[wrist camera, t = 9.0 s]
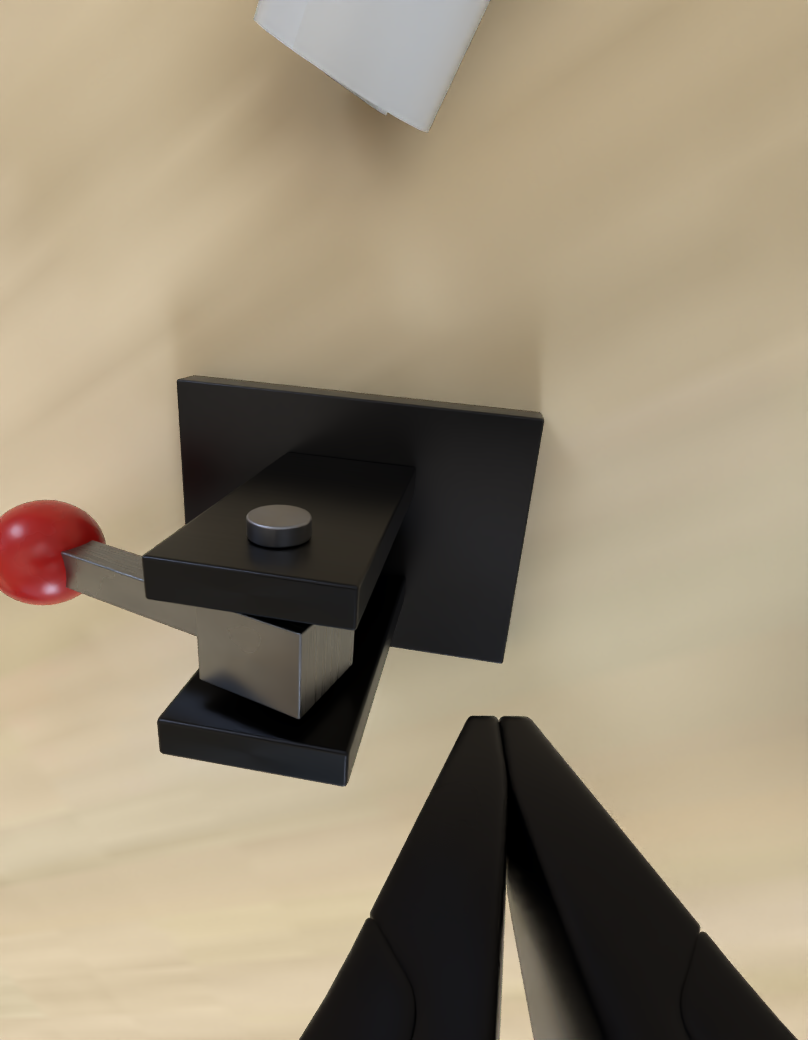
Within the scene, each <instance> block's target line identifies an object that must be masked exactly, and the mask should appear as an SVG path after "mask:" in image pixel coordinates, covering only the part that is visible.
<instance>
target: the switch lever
mask: <svg viewBox="0 0 808 1040" xmlns="http://www.w3.org/2000/svg"><path fill="white" fill-rule="evenodd" d="M0 591H2V592H3V593H4V594H6V595H7V596H9V597H11V598H13V599H15V600H17V601H20V602H24V603H27V604H34V605H52V604H58V603H62V602H65V601H68V600H71V599H73V598H75V597H77V596H78V595H80V594H85V595H88V596H90V597H93V598H96V599H98V600H101V601H104V602H106V603H109V604H112V605H114V606H117V607H120V608H122V609H125V610H128V611H130V612H133V613H136V614H138V615H141V616H144V617H146V618H149V619H152V620H154V621H157V622H160V623H162V624H165V625H168V626H170V627H173V628H176V629H178V630H181V631H184V632H186V633H189V634H192V635H194V636H197V639H198V657H199V675H200V679H201V680H203V681H205V682H208V683H210V684H212V685H215V686H217V687H220V688H222V689H225V690H227V691H230V692H232V693H235V694H237V695H239V696H242V697H244V698H247V699H249V700H252V701H254V702H257V703H259V704H261V705H264V706H266V707H269V708H271V709H274V710H276V711H279V712H281V713H284V714H286V715H288V716H291V717H293V718H296V719H301V717H302V716H303V715H304V714H305V713H306V712H307V711H308V710H309V709H310V708H311V707H312V706H313V705H314V704H315V703H316V702H317V701H318V700H319V699H320V698H321V696H322V695H323V694H324V693H325V692H326V691H327V690H328V689H329V688H330V687H331V686H332V685H333V684H334V683H335V682H336V681H337V680H338V679H339V678H340V676H341V675H342V674H343V673H344V672H345V671H346V670H347V669H348V668H349V667H350V666H351V665H352V663H353V647H354V630H353V631H352V630H345V629H339V628H332V627H326V626H319V625H312V624H306V623H299V622H293V621H286V620H280V619H273V618H267V617H260V616H253V615H247V614H240V613H234V612H227V611H221V610H214V609H207V608H201V607H194V606H188V605H181V604H175V603H168V602H161V601H155V600H148V599H146V597H145V589H144V578H143V568H142V556H140V555H137V554H134V553H131V552H127V551H124V550H121V549H118V548H115V547H112V546H109V545H106V542H105V538H104V535H103V533H102V531H101V529H100V527H99V526H98V524H97V523H96V521H95V520H94V519H93V518H92V517H91V516H90V515H88V514H87V513H86V512H85V511H83V510H81V509H80V508H78V507H76V506H74V505H71V504H68V503H65V502H61V501H55V500H37V501H32V502H27V503H24V504H21V505H19V506H16V507H14V508H12V509H10V510H9V511H7V512H6V513H5V514H3V515H2V516H1V517H0Z"/></svg>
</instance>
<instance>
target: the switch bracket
mask: <svg viewBox="0 0 808 1040" xmlns="http://www.w3.org/2000/svg"><path fill="white" fill-rule="evenodd" d="M177 393H178V409H179V426H180V442H181V459H182V475H183V492H184V508H185V526H183V527H182V528H181V529H179V530H178V531H176V532H175V533H174V534H172V535H171V536H169V537H168V538H167V539H165V540H164V541H162V542H161V543H160V544H158V545H157V546H155V547H154V548H153V549H151V550H150V551H148V552H147V553H146V554H144V555H143V556H142V568H143V578H144V589H145V597H146V599H148V600H155V601H161V602H168V603H175V604H181V605H188V606H194V607H201V608H207V609H214V610H221V611H227V612H234V613H240V614H247V615H253V616H260V617H267V618H273V619H280V620H286V621H293V622H299V623H306V624H312V625H319V626H326V627H332V628H339V629H345V630H352V631H353V630H354V647H353V663H352V665H351V666H350V667H349V668H348V669H347V670H346V671H345V672H344V673H343V674H342V675H341V676H340V678H339V679H338V680H337V681H336V682H335V683H334V684H333V685H332V686H331V687H330V688H329V689H328V690H327V691H326V692H325V693H324V694H323V695H322V696H321V698H320V699H319V700H318V701H317V702H316V703H315V704H314V705H313V706H312V707H311V708H310V709H309V710H308V711H307V712H306V713H305V714H304V715H303V716H302V717H301V719H296V718H293V717H291V716H288V715H286V714H284V713H281V712H279V711H276V710H274V709H271V708H269V707H266V706H264V705H261V704H259V703H257V702H254V701H252V700H249V699H247V698H244V697H242V696H239V695H237V694H235V693H232V692H230V691H227V690H225V689H222V688H220V687H217V686H215V685H212V684H210V683H208V682H205V681H203V680H201V679H200V675H199V669H198V670H197V671H196V673H195V674H194V675H193V676H192V677H191V679H190V680H189V681H188V682H187V684H186V685H185V686H184V687H183V689H182V690H181V691H180V692H179V693H178V695H177V696H176V697H175V698H174V700H173V701H172V702H171V703H170V705H169V706H168V707H167V708H166V709H165V711H164V712H163V713H162V714H161V716H160V717H159V718H158V721H157V725H158V736H159V747H160V752H161V753H163V754H167V755H173V756H178V757H184V758H189V759H195V760H200V761H206V762H211V763H217V764H222V765H228V766H233V767H239V768H244V769H250V770H255V771H261V772H266V773H271V774H277V775H282V776H288V777H293V778H299V779H304V780H310V781H315V782H321V783H326V784H332V785H337V786H346V785H347V783H348V781H349V778H350V775H351V772H352V768H353V765H354V762H355V759H356V755H357V752H358V749H359V745H360V742H361V739H362V736H363V732H364V729H365V726H366V723H367V719H368V716H369V713H370V709H371V706H372V703H373V700H374V696H375V693H376V690H377V687H378V683H379V680H380V677H381V674H382V670H383V667H384V664H385V660H386V657H387V654H388V651H389V647H396V648H403V649H409V650H416V651H422V652H429V653H435V654H442V655H448V656H455V657H461V658H468V659H474V660H481V661H487V662H494V663H500V664H501V663H503V659H504V653H505V647H506V641H507V635H508V630H509V624H510V618H511V612H512V606H513V600H514V594H515V589H516V583H517V577H518V571H519V565H520V559H521V554H522V548H523V542H524V536H525V530H526V524H527V518H528V513H529V507H530V501H531V495H532V489H533V483H534V478H535V472H536V466H537V460H538V454H539V448H540V442H541V437H542V431H543V425H544V418H543V416H542V414H541V413H540V412H532V411H523V410H514V409H504V408H495V407H486V406H476V405H467V404H457V403H448V402H439V401H429V400H420V399H411V398H401V397H392V396H383V395H373V394H364V393H354V392H345V391H336V390H326V389H317V388H308V387H298V386H289V385H279V384H270V383H261V382H251V381H242V380H233V379H223V378H214V377H205V376H195V375H194V376H190V377H186V378H181V379H178V380H177Z"/></svg>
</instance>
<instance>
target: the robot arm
mask: <svg viewBox="0 0 808 1040" xmlns="http://www.w3.org/2000/svg"><path fill="white" fill-rule="evenodd" d="M506 886H507V895H508V901H509V907H510V913H511V919H512V924H513V930H514V935H515V940H516V946H517V951H518V957H519V962H520V967H521V973H522V978H523V984H524V989H525V994H526V1000H527V1005H528V1011H529V1016H530V1021H531V1027H532V1032H533V1038H534V1040H798V1039H797V1038H796V1037H795V1036H794V1035H793V1034H792V1033H791V1032H790V1031H789V1030H788V1029H787V1027H786V1026H785V1025H784V1024H783V1023H782V1022H781V1021H780V1020H779V1019H778V1018H777V1016H776V1015H775V1014H774V1013H773V1012H772V1011H771V1009H770V1008H769V1007H768V1006H767V1005H766V1004H765V1002H764V1001H763V1000H762V999H761V998H760V997H759V995H758V994H757V993H756V992H755V991H754V990H753V988H752V987H751V986H750V985H749V984H748V983H747V981H746V980H745V979H744V978H743V977H742V975H741V974H740V973H739V972H738V971H737V970H736V968H735V967H734V966H733V965H732V964H731V963H730V961H729V960H728V959H727V958H726V956H725V955H724V954H723V953H722V952H721V950H720V949H719V948H718V947H717V945H716V944H715V943H714V942H713V940H712V939H711V938H710V937H709V935H708V934H707V933H706V932H700V925H699V924H698V922H697V921H696V920H695V919H694V918H693V916H692V915H691V914H690V913H689V911H688V910H687V909H686V908H685V907H684V905H683V904H682V903H681V902H680V901H679V899H678V898H677V897H676V896H675V894H674V893H673V892H672V891H671V890H670V888H669V887H668V886H667V885H666V883H665V882H664V881H663V880H662V879H661V877H660V876H659V875H658V874H657V872H656V871H655V870H654V869H653V868H652V866H651V865H650V864H649V863H648V861H647V860H646V859H645V858H644V857H643V855H642V854H641V853H640V852H639V850H638V849H637V848H636V847H635V846H634V844H633V843H632V842H631V841H630V839H629V838H628V837H627V836H626V835H625V833H624V832H623V831H622V830H621V829H620V827H619V826H618V825H617V824H616V822H615V821H614V820H613V819H612V818H611V816H610V815H609V814H608V813H607V811H606V810H605V809H604V808H603V807H602V805H601V804H600V803H599V802H598V800H597V799H596V798H595V797H594V796H593V794H592V793H591V792H590V791H589V789H588V788H587V787H586V786H585V785H584V783H583V782H582V781H581V780H580V778H579V777H578V776H577V775H576V774H575V772H574V771H573V770H572V769H571V767H570V766H569V765H568V764H567V763H566V761H565V760H564V759H563V758H562V756H561V755H560V754H559V753H558V752H557V750H556V749H555V748H554V747H553V746H552V744H551V743H550V742H549V741H548V739H547V738H546V737H545V736H544V735H543V733H542V732H541V731H540V730H539V728H538V727H537V726H536V725H535V724H534V722H533V721H532V720H531V719H530V718H528V717H525V716H503V717H501V718H500V720H498V719H497V718H496V717H495V716H470V717H469V718H468V719H467V721H466V723H465V725H464V727H463V729H462V731H461V733H460V734H459V736H458V738H457V740H456V742H455V744H454V746H453V748H452V750H451V752H450V754H449V756H448V758H447V760H446V762H445V764H444V766H443V768H442V770H441V772H440V774H439V776H438V778H437V780H436V782H435V784H434V786H433V788H432V790H431V792H430V794H429V796H428V798H427V800H426V802H425V804H424V806H423V808H422V810H421V812H420V814H419V816H418V818H417V820H416V822H415V824H414V826H413V828H412V830H411V832H410V834H409V836H408V838H407V840H406V842H405V844H404V846H403V848H402V850H401V852H400V854H399V856H398V858H397V860H396V862H395V864H394V866H393V868H392V870H391V872H390V874H389V876H388V878H387V880H386V882H385V884H384V886H383V888H382V890H381V892H380V894H379V896H378V898H377V900H376V902H375V904H374V906H373V908H372V910H371V912H370V918H368V919H366V921H365V923H364V925H363V927H362V929H361V931H360V933H359V935H358V937H357V939H356V941H355V943H354V945H353V947H352V949H351V951H350V953H349V954H348V956H347V958H346V960H345V962H344V964H343V965H342V967H341V969H340V971H339V973H338V975H337V977H336V978H335V980H334V982H333V984H332V986H331V988H330V989H329V991H328V993H327V995H326V997H325V999H324V1000H323V1002H322V1003H321V1005H320V1007H319V1008H318V1010H317V1011H316V1013H315V1015H314V1016H313V1018H312V1020H311V1021H310V1023H309V1024H308V1026H307V1028H306V1029H305V1031H304V1033H303V1034H302V1036H301V1037H300V1039H299V1040H500V1022H501V999H502V975H503V951H504V928H505V900H506Z"/></svg>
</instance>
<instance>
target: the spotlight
mask: <svg viewBox="0 0 808 1040" xmlns="http://www.w3.org/2000/svg"><path fill="white" fill-rule="evenodd" d="M489 2H490V0H259V2H258V5H257V9H256V12H255V16H254V20H255V21H256V22H257V23H258V24H259V25H260V26H261V27H262V28H263V29H265V30H266V31H267V32H268V33H270V34H271V35H272V36H274V37H275V38H276V39H278V40H279V41H281V42H282V43H283V44H285V45H286V46H287V47H289V48H290V49H291V50H293V51H294V52H296V53H297V54H299V55H300V56H301V57H303V58H304V59H306V60H307V61H309V62H310V63H312V64H313V65H315V66H316V67H318V68H319V69H320V70H322V71H323V72H324V73H325V74H326V75H328V76H329V77H331V78H332V79H333V80H335V81H336V82H338V83H339V84H340V85H342V86H343V87H345V88H346V89H347V90H349V91H350V92H352V93H353V94H355V95H356V96H357V97H359V98H360V99H362V100H363V101H364V102H366V103H367V104H369V105H370V106H372V107H373V108H374V109H376V110H377V111H379V112H381V113H382V114H384V115H387V113H390V114H391V115H393V116H395V117H396V118H398V119H400V120H402V121H404V122H405V123H407V124H409V125H411V126H413V127H415V128H417V129H418V130H421V131H424V132H427V133H428V131H429V129H430V127H431V125H432V123H433V121H434V119H435V117H436V114H437V112H438V110H439V108H440V106H441V104H442V102H443V100H444V98H445V95H446V93H447V91H448V89H449V87H450V85H451V83H452V81H453V78H454V76H455V74H456V72H457V70H458V68H459V66H460V64H461V62H462V59H463V57H464V55H465V53H466V51H467V49H468V47H469V45H470V42H471V40H472V38H473V36H474V34H475V32H476V30H477V28H478V25H479V23H480V21H481V19H482V17H483V15H484V13H485V11H486V9H487V6H488V4H489Z"/></svg>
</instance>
